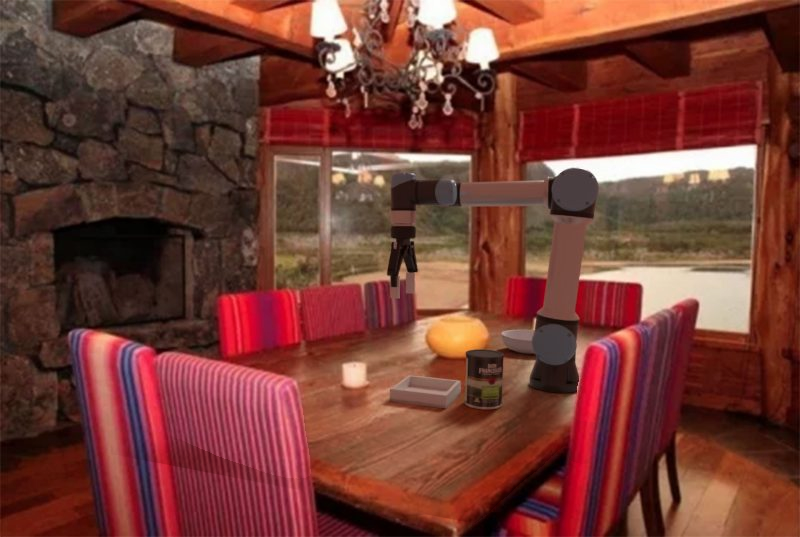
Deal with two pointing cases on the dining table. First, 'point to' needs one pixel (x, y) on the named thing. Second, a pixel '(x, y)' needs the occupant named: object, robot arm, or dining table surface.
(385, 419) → the dining table surface
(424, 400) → the tray
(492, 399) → the coffee can
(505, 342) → the serving bowl
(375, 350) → the dining table surface
